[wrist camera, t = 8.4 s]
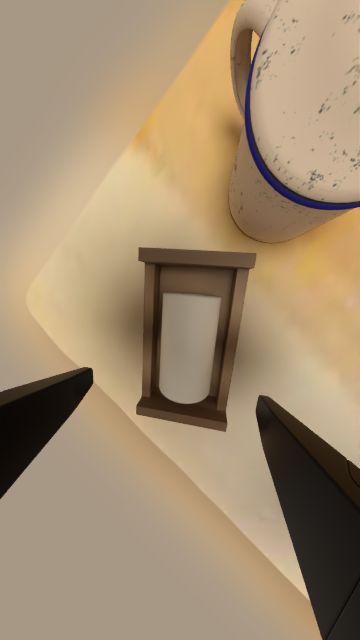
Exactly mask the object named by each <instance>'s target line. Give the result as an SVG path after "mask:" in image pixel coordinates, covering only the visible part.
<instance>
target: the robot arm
mask: <svg viewBox="0 0 360 640" xmlns="http://www.w3.org/2000/svg"><path fill="white" fill-rule="evenodd" d="M92 384H93V370H92V368H88V367H83V368H80V369H76V370H73V371H69V372H66V373H63V374H59V375H56V376H52V377H49V378H45V379H42V380H39V381H35V382H32V383H29V384H25V385H22V386H18V387H15V388H11V389H8V390H5V391H2V392H0V499H1V498H2V497H3V495H4V494H5V493H6V492H7V490H8V489H9V488H10V487H11V486H12V485H13V483H14V482H15V481H16V480H17V478H18V477H19V476H20V475H21V474H22V473H23V471H24V470H25V469H26V468H27V467H28V465H29V464H30V463H31V462H32V461H33V460H34V458H35V457H36V456H37V455H38V454H39V452H40V451H41V450H42V449H43V447H44V446H45V445H46V444H47V443H48V442H49V440H50V439H51V438H52V437H53V436H54V434H55V433H56V432H57V431H58V430H59V428H60V427H61V426H62V425H63V424H64V422H65V421H66V420H67V419H68V418H69V416H70V415H71V414H72V413H73V411H74V410H75V409H76V408H77V406H78V405H79V403H80V402H81V400H82V399H83V397H84V396H85V395H86V393H87V392H88V390H89V389H90V388H91V386H92ZM256 417H257V422H258V427H259V432H260V437H261V442H262V446H263V450H264V453H265V457H266V460H267V463H268V466H269V469H270V473H271V476H272V479H273V482H274V486H275V489H276V492H277V495H278V498H279V502H280V505H281V508H282V511H283V515H284V518H285V521H286V524H287V527H288V531H289V534H290V537H291V540H292V543H293V547H294V550H295V553H296V556H297V560H298V563H299V566H300V569H301V572H302V576H303V579H304V582H305V585H306V589H307V592H308V595H309V598H310V601H311V605H312V608H313V611H314V614H315V618H316V621H317V624H318V627H319V630H320V634H321V637H322V639H323V640H360V469H359V468H358V467H357V466H356V465H354V464H353V463H352V462H351V461H349V460H347V459H346V457H344V456H343V455H342V454H340V453H339V452H338V451H337V450H335V449H334V448H333V447H332V446H330V445H329V444H328V443H327V442H325V441H324V440H323V439H322V438H320V437H319V436H318V435H317V434H315V433H314V432H313V431H311V430H310V429H309V428H308V427H306V426H305V425H304V424H303V423H301V422H300V421H299V420H298V419H296V418H295V417H294V416H293V415H291V414H290V413H289V412H288V411H286V410H285V409H284V408H282V407H281V406H280V405H279V404H277V403H276V402H275V401H274V400H272V399H271V398H270V397H268V396H263V395H260V396H259V397H258V402H257V406H256Z"/></svg>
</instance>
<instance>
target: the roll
mask: <svg viewBox="0 0 360 640" xmlns="http://www.w3.org/2000/svg"><path fill="white" fill-rule="evenodd" d="M220 304H221V297H220V296H215V295H209V294H200V293H188V292H164V293H163V308H162V331H161V354H160V377H159V388H160V391H161V393H162V394H163V395H164V396H165V397H166V398H168V399H170V400H172V401H174V402H178V403H184V404H191V403H197V402H200V401H202V400H204V399H205V398H206V397H207V396H208V394H209V391H210V383H211V375H212V368H213V360H214V352H215V344H216V336H217V328H218V320H219V312H220Z"/></svg>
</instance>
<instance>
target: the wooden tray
mask: <svg viewBox="0 0 360 640" xmlns="http://www.w3.org/2000/svg"><path fill="white" fill-rule="evenodd" d="M256 254H257V253H239V252H219V251H200V250H180V249H161V248H141V247H139V259H138V261H142V262H145V289H144V333H143V377H142V397H141V399H140V401H139V402H138V404H137V406H136V414H138V415H143V416H148V417H153V418H158V419H163V420H168V421H173V422H178V423H183V424H188V425H194V426H199V427H204V428H209V429H214V430H219V431H224V432H226V428H227V417H226V406H227V400H228V394H229V388H230V382H231V376H232V370H233V364H234V358H235V352H236V346H237V340H238V334H239V328H240V322H241V316H242V310H243V304H244V298H245V292H246V286H247V280H248V274H249V269H252V268H254V266H255V260H256ZM164 292H188V293H200V294H209V295H215V296H220V297H221V304H220V312H219V320H218V328H217V336H216V344H215V352H214V360H213V368H212V375H211V383H210V391H209V394H208V396H207V397H206V398H205V399H204V400H202V401H200V402H197V403H191V404H184V403H178V402H174V401H172V400H170V399H168V398H166V397H165V396H164V395H163V394H162V393H161V391H160V388H159V377H160V354H161V331H162V308H163V293H164Z"/></svg>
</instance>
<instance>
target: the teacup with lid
mask: <svg viewBox="0 0 360 640" xmlns="http://www.w3.org/2000/svg"><path fill="white" fill-rule="evenodd" d="M253 31H255V32H256V34H257V35H258V36H259V37H260V40H259V43H258V45H257V48H256V51H255V54H254V57H253V60H252V64H251V41H252V32H253ZM230 63H231V77H232V85H233V91H234V95H235V99H236V103H237V106H238V109H239V111H240V113H241V115H242V117H243V119H244V124H243V128H242V132H241V137H240V141H239V145H238V150H237V154H236V159H235V163H234V167H233V172H232V176H231V180H230V186H229V206H230V211H231V214H232V217H233V219H234V221H235V223H236V224H237V226H238V227H239V228H240V229H241V230H242V231H243V232H244V233H245V234H246V235H248V236H249V237H251V238H253V239H255V240H258V241H262V242H268V243H276V242H283V241H287V240H290V239H293V238H295V237H297V236H299V235H302V234H304V233H306V232H308V231H310V230H312V229H314V228H316V227H318V226H320V225H322V224H324V223H326V222H328V221H330V220H332V219H334V218H336V217H338V216H340V215H342V214H344V213H346V212H348V211H350V210H352V209H354V208H357V207H360V0H245V1H244V2H243V4H242V5H241V7H240V9H239V11H238V13H237V15H236V18H235V22H234V26H233V30H232V37H231V50H230Z"/></svg>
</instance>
